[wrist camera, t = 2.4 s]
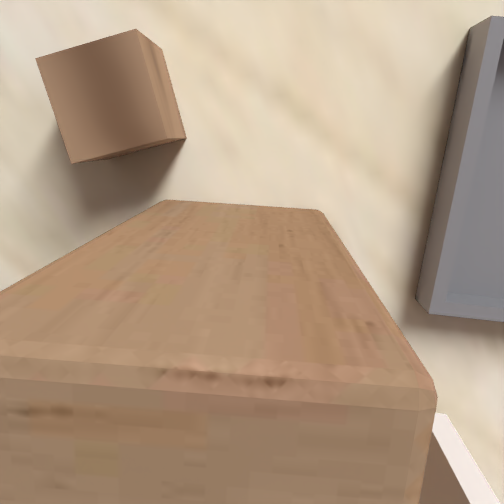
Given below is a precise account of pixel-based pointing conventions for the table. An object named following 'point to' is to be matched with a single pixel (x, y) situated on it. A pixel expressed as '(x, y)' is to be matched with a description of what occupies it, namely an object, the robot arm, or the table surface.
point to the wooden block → (209, 369)
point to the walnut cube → (111, 97)
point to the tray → (471, 191)
